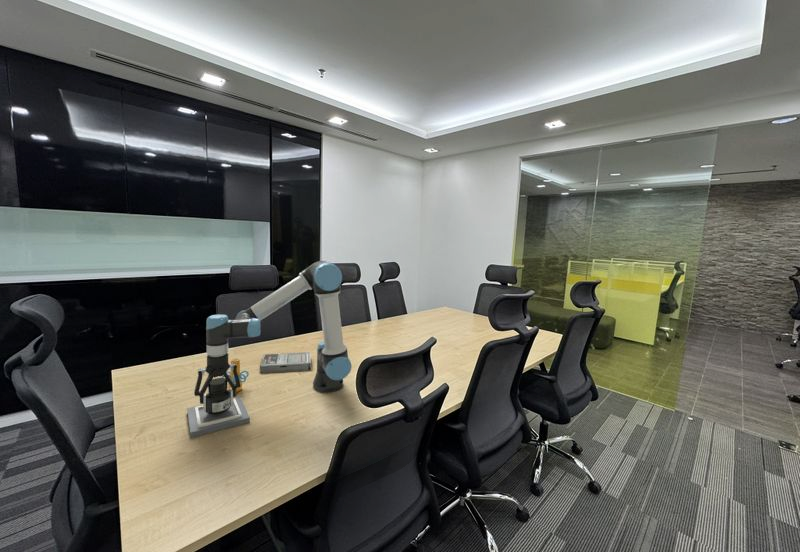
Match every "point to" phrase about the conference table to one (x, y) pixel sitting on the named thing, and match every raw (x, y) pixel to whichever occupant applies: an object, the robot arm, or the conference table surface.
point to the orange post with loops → (237, 362)
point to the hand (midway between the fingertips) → (218, 407)
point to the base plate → (216, 418)
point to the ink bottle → (218, 396)
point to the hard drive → (285, 362)
